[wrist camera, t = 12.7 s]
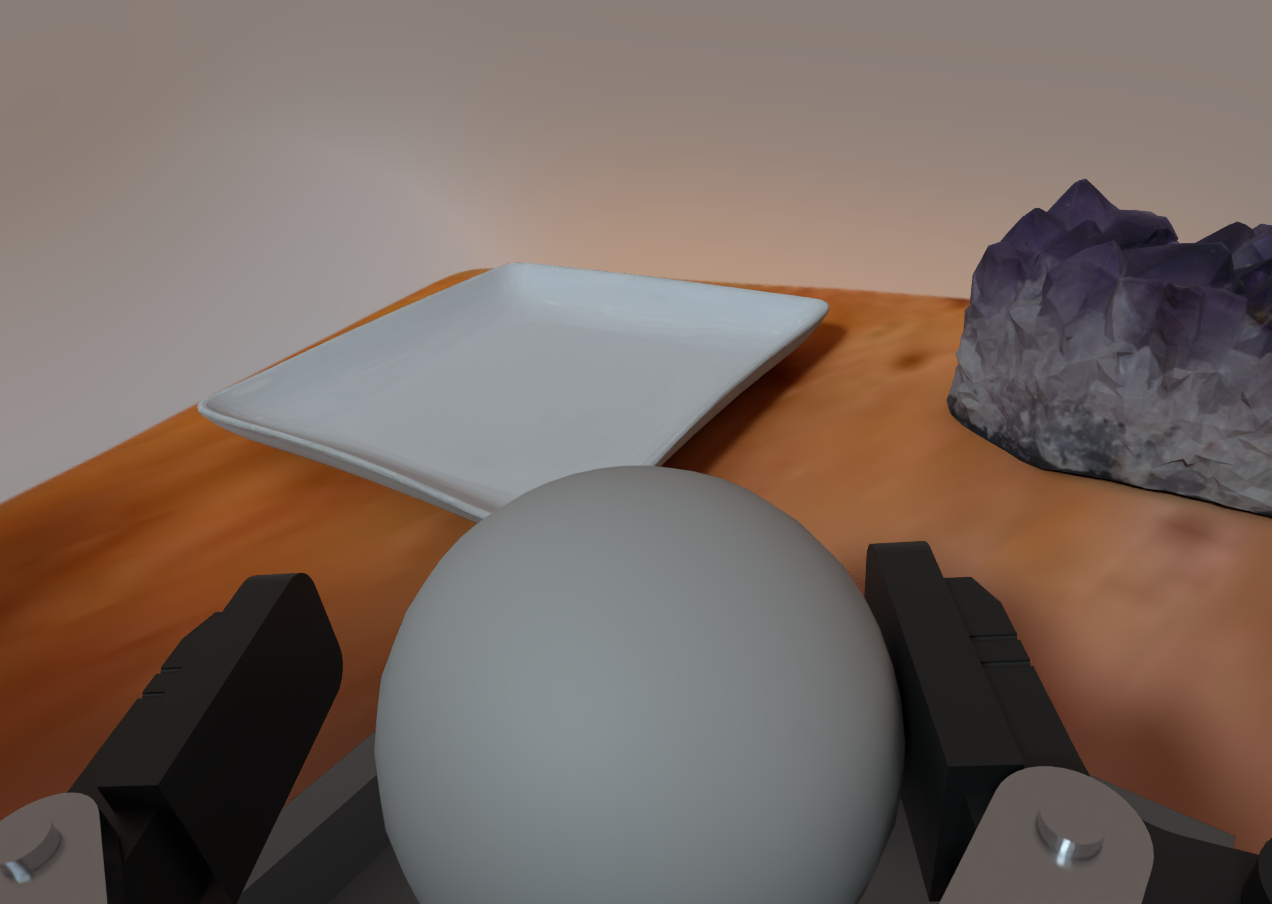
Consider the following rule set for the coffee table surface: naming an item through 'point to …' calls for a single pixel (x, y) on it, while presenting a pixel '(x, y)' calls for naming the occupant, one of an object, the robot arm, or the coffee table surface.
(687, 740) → the lightbulb
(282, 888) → the tray
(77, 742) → the coffee table surface
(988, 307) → the geode
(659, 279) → the salad plate
